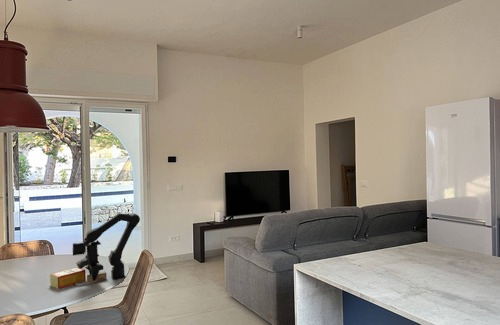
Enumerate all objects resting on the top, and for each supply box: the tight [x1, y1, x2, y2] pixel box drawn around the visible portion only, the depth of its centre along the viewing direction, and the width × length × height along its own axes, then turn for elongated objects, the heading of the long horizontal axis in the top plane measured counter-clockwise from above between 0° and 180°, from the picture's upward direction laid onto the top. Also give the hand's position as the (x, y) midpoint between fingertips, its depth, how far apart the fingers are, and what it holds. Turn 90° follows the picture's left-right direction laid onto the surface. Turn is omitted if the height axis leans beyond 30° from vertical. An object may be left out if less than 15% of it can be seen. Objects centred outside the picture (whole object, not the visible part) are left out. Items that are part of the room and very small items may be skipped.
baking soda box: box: [49, 266, 87, 290], centre depth 213 cm, size 10×6×16 cm
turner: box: [74, 271, 108, 287], centre depth 213 cm, size 16×6×4 cm, turn 131°
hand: (93, 279), depth 214 cm, fingers closed on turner, 3 cm apart
